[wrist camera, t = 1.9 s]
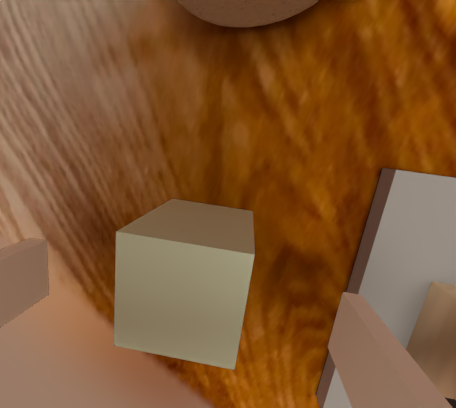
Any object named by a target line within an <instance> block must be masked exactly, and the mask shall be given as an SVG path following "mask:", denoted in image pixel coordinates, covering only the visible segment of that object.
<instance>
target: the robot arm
mask: <svg viewBox="0 0 456 408" xmlns="http://www.w3.org/2000/svg"><path fill="white" fill-rule="evenodd" d="M47 295H49V278H48V253H47V240H41V239H35V238H29V239H27V240H24V241H21V242H19V243H16V244H13V245H11V246H8V247H5V248H3V249H0V328H1V327H2V326H4V325H5V324H7V323H8V322H9V321H11V320H12V319H14V318H15V317H17V316H18V315H20V314H21V313H23V312H24V311H25V310H27V309H28V308H30V307H31V306H33V305H34V304H36V303H37V302H39V301H40V300H41V299H43V298H44V297H46V296H47ZM328 349H329V352H330V354H331V357H332V359H333V362H334V364H335V367H336V369H337V371H338V374H339V376H340V379H341V381H342V384H343V386H344V389H345V391H346V393H347V396H348V398H349V401H350V403H351V406H352V408H456V400H455V399H450V398H445V397H444V396H443V395H442V394H441V393H440V391H439V390H438V389H437V388H436V386H435V385H434V384H433V383H432V381H431V380H430V379H429V378H428V376H427V375H426V374H425V373H424V372H423V370H422V369H421V368H420V367H419V365H418V364H417V363H416V362H415V360H414V359H413V358H412V357H411V355H410V354H409V353H408V352H407V350H406V349H405V348H404V347H403V346H402V344H401V343H400V342H399V341H398V339H397V338H396V337H395V336H394V334H393V333H392V332H391V331H390V329H389V328H388V327H387V326H386V325H385V323H384V322H383V321H382V320H381V318H380V317H379V316H378V315H377V313H376V312H375V311H374V310H373V308H372V307H371V306H370V305H369V303H368V302H367V301H366V300H365V299H364V297H363V296H362V295H359V294H353V293H347V292H343V293H342V296H341V300H340V304H339V307H338V311H337V314H336V318H335V322H334V325H333V329H332V333H331V336H330V340H329V343H328Z"/></svg>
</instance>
